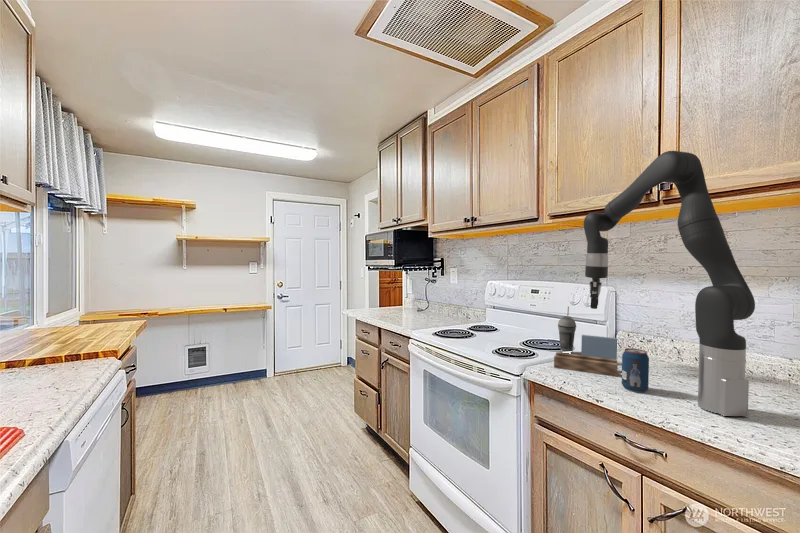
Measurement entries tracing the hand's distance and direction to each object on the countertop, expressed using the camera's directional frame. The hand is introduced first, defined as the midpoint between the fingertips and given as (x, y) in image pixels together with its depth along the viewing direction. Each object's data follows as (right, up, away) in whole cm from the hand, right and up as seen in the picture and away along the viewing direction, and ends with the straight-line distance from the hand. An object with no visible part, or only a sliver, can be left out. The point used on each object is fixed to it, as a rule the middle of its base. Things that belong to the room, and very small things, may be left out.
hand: (594, 307), depth 138 cm
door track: (-7, -22, -7) cm, 24 cm away
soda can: (-2, -23, -27) cm, 36 cm away
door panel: (+3, -22, +2) cm, 22 cm away
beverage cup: (-4, -22, +16) cm, 27 cm away
